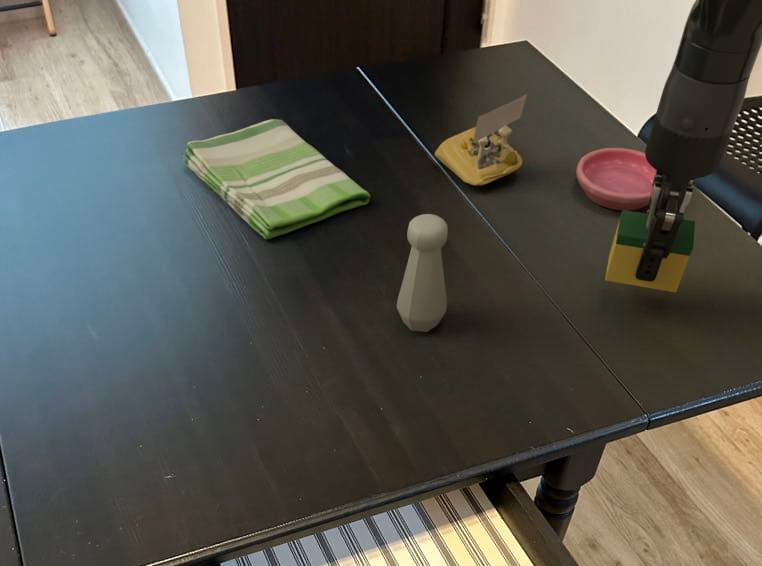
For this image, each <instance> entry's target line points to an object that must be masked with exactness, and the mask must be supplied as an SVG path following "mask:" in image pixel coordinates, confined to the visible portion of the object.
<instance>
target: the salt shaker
mask: <svg viewBox="0 0 762 566" xmlns="http://www.w3.org/2000/svg"><path fill="white" fill-rule="evenodd" d="M448 232H449V229H448V223H447V222H446V221H445V220H444V219H443V217H440V216H438V215H437V214H432V213H424V214H423V213H422V214H420V215H416V216H415V217H413V218H412V219H411V220H410V221H409V223H408V227H407V231H406V233H407V235H406V237H407V241H408V243H409V245H410V246H411V248H410V252H409V255H408V258H407V259H408V261H407V262H406V263H407V264H406V267H405V271H404V275H403V279H402V281H401V282H402V283H401V286H400V290H399V294H398V297H397V301H396V309H397V311H398V313H399V316H400V318H401V320H402V323H404V324H405V325H406V327H408V328H409V330H410V331H413V332H425V333H428V332H429V331H430V330H432V329H434V328H435V327H437V326H438V325H439V323H440V322H441V320H442V319H443V317H444V316H445V314H446V312H447V307H448V299H447V291H446V284H445V283H446V282H445V274H444V266H443V265H444V264H443V255H442V248H443V247H444V246H445V245H446V243H447V240H448V234H449V233H448Z"/></svg>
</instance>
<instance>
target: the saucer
mask: <svg viewBox="0 0 762 566" xmlns="http://www.w3.org/2000/svg"><path fill="white" fill-rule="evenodd" d="M575 172H576V179H577V181H578V183H579V185H580V187H581V188H582V190H583V191H584V194H585V195H586V196H587V198H589V199H590V200H591V201H592V202H594V203H595V204H597V205H599V206H601V207H603V208H607V209H610V210H615V211H622V210H626V211H635V210H640V209H642V208H645V207H647V206H649V204H648V201H649V196H650V192H651V189H652V183H653V178H654V174H655V172H656V169H654V168H653V167H652V166H651V165H650V164H649V163H648V161H647V160H646V157H645V152H643V151H641V150H636V149H632V148H631V149H630V148H625V147H606V148H600V149H596V150H592V151H590V152H588V153H587V154H585V155H584V156H582V157H581V158H580V160H579V161H578V162H577V167H576V171H575Z"/></svg>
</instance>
